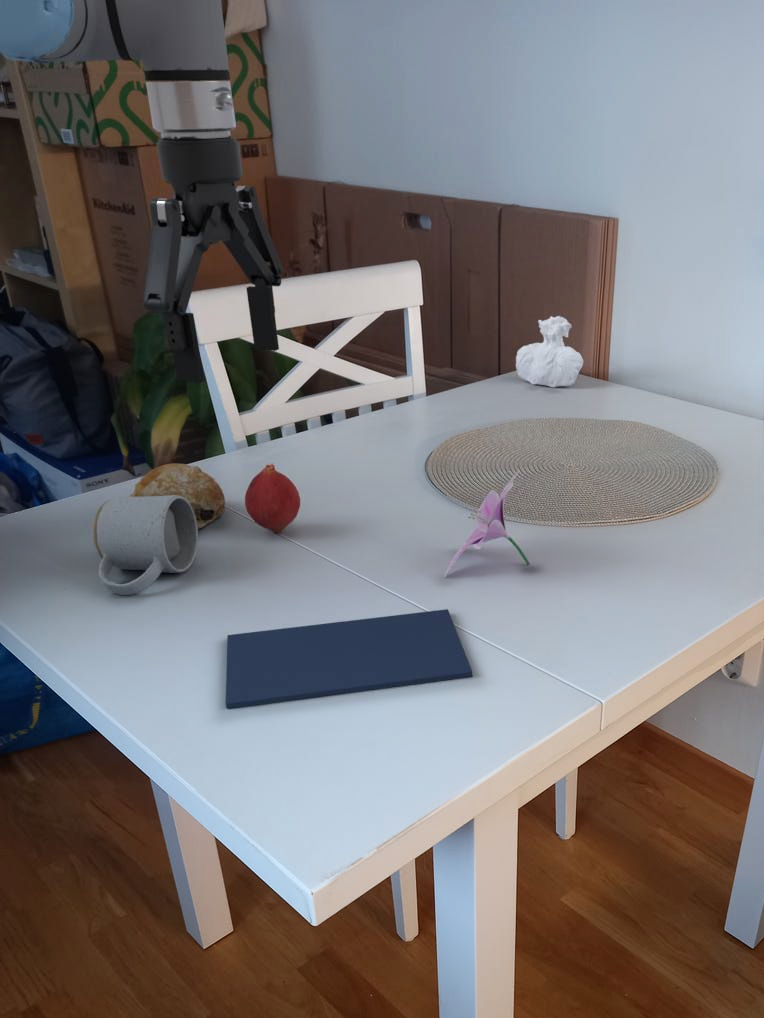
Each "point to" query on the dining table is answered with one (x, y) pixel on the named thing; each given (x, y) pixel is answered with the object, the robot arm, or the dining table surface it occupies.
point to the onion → (272, 499)
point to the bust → (550, 357)
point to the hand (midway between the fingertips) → (231, 364)
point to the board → (342, 658)
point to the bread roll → (185, 489)
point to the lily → (489, 523)
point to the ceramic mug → (144, 538)
